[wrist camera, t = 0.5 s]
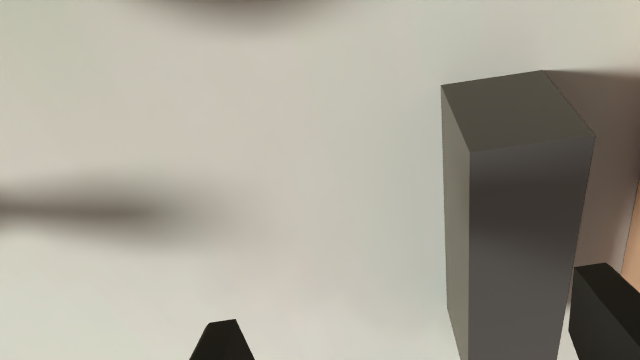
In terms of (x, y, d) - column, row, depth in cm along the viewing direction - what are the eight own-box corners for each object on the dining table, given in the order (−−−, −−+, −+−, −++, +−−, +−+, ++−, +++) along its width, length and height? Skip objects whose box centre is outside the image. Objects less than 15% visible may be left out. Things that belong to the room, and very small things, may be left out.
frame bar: (519, 296, 26) (553, 379, 22) (446, 304, 26) (467, 387, 22) (540, 67, 19) (595, 135, 15) (439, 82, 19) (469, 152, 15)
